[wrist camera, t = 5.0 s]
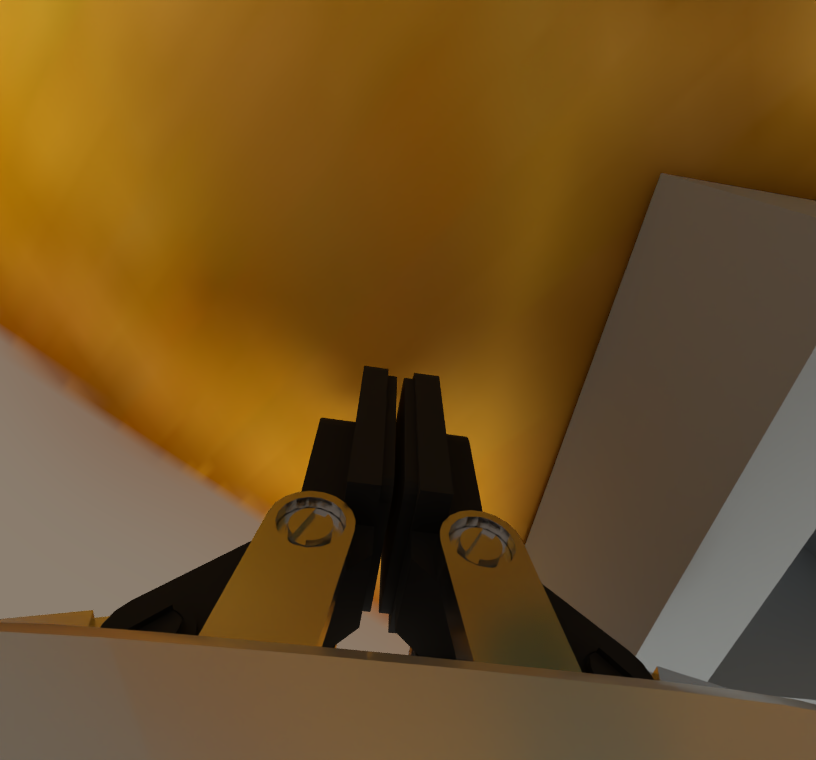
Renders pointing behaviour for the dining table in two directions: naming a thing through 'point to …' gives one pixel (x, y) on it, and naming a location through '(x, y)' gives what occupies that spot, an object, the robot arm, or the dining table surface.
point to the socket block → (699, 447)
